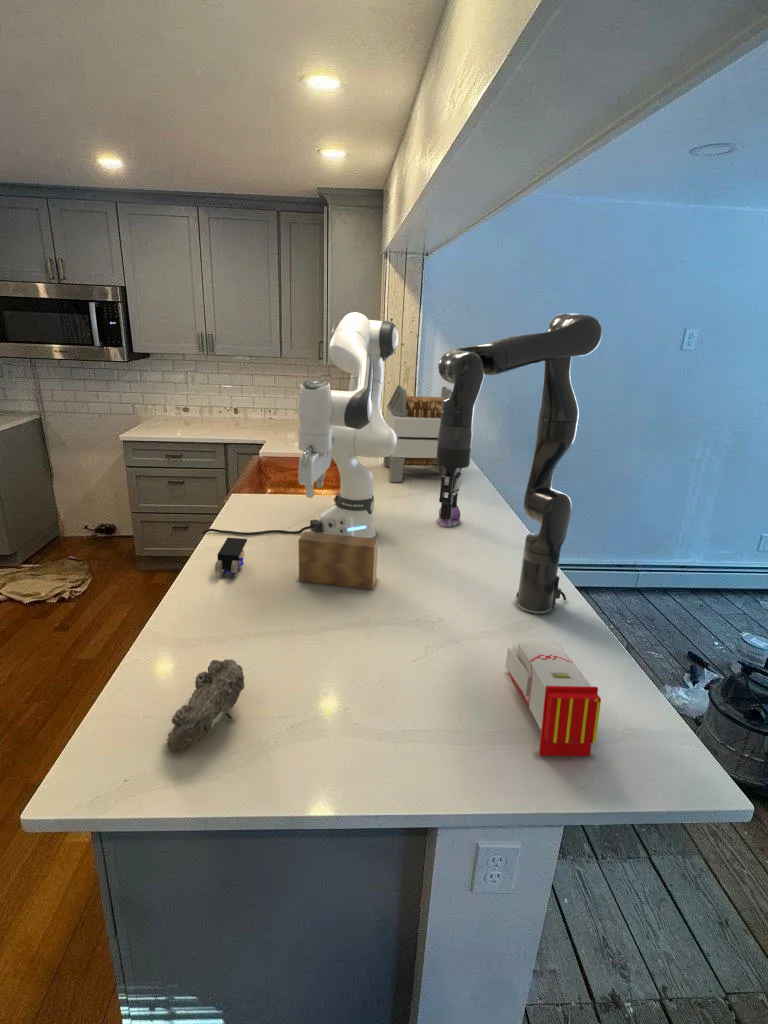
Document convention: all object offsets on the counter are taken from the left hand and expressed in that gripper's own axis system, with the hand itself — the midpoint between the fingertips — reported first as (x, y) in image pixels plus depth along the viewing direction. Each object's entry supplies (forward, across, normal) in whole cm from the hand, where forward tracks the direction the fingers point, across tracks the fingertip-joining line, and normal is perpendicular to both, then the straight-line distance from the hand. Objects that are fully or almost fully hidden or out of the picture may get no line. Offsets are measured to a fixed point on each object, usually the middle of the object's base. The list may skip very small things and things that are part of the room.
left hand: (315, 491), depth 156 cm
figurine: (+26, +56, -36) cm, 71 cm away
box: (+26, 0, -7) cm, 27 cm away
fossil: (+26, -61, +3) cm, 67 cm away
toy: (+26, -45, -60) cm, 79 cm away
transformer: (+26, +121, -18) cm, 125 cm away
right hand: (-4, -20, -37) cm, 42 cm away
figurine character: (+26, -1, +25) cm, 36 cm away
